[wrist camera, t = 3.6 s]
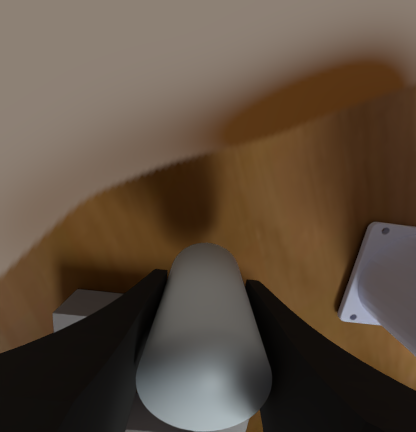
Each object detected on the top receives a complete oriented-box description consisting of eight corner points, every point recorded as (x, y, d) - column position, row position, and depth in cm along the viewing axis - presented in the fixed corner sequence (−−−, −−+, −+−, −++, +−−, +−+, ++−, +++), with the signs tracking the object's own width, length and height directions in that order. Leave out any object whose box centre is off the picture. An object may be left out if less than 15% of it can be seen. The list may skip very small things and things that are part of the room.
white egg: (244, 247, 11) (286, 335, 5) (233, 307, 12) (257, 436, 6) (174, 238, 11) (138, 320, 5) (168, 299, 12) (132, 426, 6)
